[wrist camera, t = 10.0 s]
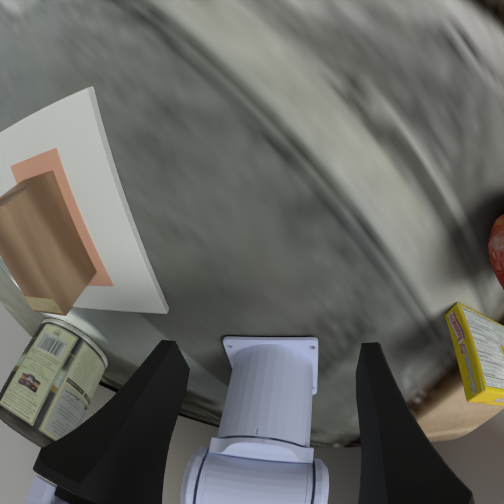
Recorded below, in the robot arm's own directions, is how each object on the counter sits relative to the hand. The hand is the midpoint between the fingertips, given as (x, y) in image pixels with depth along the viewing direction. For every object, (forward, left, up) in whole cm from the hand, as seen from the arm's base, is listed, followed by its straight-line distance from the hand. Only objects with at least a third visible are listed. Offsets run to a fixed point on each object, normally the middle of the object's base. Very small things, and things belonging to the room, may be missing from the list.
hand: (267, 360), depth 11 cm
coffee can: (-15, +27, -10) cm, 32 cm away
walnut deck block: (+2, +17, -9) cm, 19 cm away
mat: (+2, +17, -9) cm, 20 cm away
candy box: (-12, -20, -10) cm, 25 cm away
